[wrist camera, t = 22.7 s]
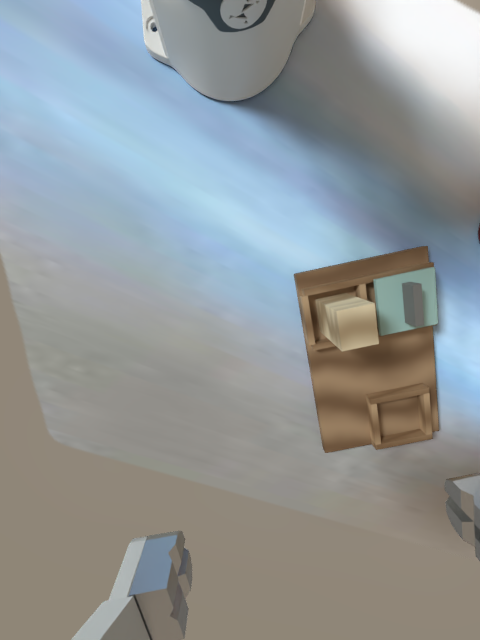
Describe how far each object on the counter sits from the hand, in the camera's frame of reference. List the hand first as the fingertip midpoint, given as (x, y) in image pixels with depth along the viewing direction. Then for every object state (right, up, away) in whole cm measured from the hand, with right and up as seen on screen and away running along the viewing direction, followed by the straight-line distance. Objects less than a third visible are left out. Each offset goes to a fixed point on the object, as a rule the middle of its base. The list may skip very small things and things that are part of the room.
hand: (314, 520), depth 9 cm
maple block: (+10, +7, +29) cm, 32 cm away
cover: (+18, +8, +27) cm, 34 cm away
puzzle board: (+16, +1, +32) cm, 36 cm away
